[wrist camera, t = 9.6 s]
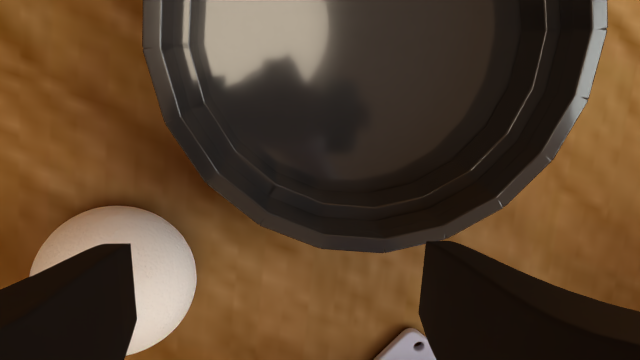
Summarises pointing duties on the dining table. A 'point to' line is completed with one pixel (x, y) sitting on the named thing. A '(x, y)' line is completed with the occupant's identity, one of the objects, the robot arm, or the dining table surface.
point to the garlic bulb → (134, 264)
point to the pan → (371, 107)
